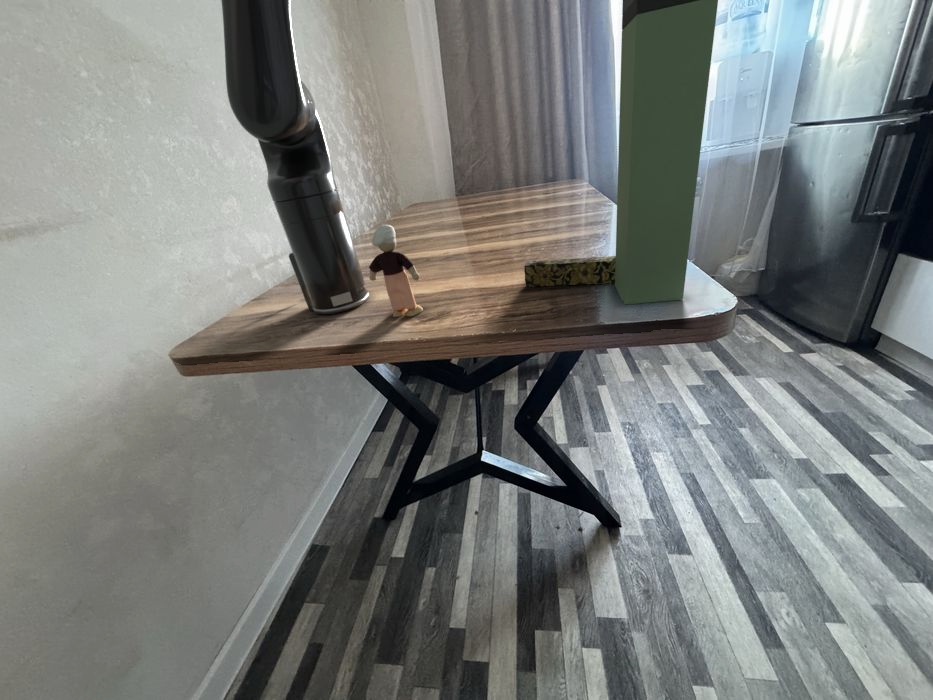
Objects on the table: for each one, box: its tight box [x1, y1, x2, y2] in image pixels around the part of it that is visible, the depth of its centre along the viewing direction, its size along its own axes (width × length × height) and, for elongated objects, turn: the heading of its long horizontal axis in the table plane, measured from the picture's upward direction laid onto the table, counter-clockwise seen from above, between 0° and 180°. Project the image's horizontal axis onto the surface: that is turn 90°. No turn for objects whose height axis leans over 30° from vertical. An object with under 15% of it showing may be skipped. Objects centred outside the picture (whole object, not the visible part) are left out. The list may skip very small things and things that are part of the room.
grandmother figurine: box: [368, 224, 424, 318], centre depth 54 cm, size 8×4×13 cm, turn 84°
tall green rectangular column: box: [614, 0, 719, 305], centre depth 42 cm, size 7×7×32 cm
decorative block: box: [523, 255, 616, 288], centre depth 55 cm, size 15×2×4 cm, turn 72°
